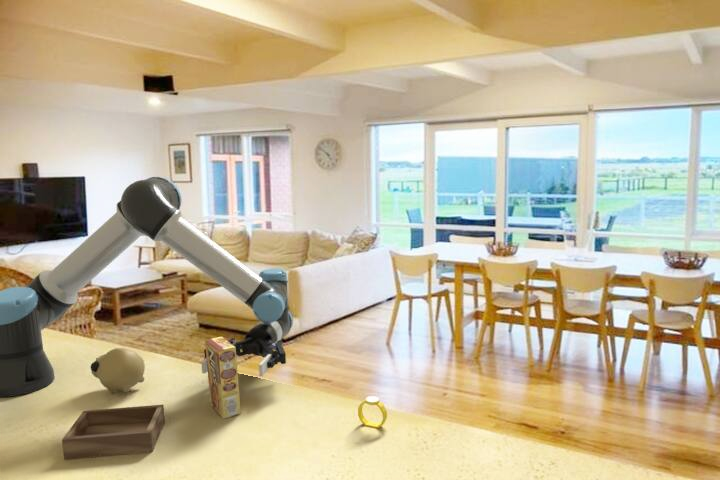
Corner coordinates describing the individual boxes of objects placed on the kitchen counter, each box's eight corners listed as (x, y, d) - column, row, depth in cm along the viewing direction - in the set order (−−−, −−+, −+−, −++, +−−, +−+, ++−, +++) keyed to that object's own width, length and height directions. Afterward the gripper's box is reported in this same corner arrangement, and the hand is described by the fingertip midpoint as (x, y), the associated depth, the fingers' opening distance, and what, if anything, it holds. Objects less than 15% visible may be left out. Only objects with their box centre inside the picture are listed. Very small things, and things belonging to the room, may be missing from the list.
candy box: (241, 414, 126) (237, 346, 123) (222, 419, 123) (218, 350, 121) (226, 399, 133) (222, 335, 130) (208, 404, 131) (204, 339, 128)
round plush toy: (115, 379, 146) (111, 338, 144) (154, 384, 142) (151, 343, 140) (85, 395, 137) (80, 352, 135) (126, 401, 133) (122, 357, 131)
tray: (85, 428, 121) (83, 410, 120) (164, 422, 123) (163, 404, 122) (64, 459, 109) (61, 439, 108) (152, 451, 111) (150, 432, 110)
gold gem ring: (387, 426, 119) (389, 399, 118) (382, 432, 117) (383, 405, 116) (361, 419, 122) (362, 392, 121) (355, 425, 119) (356, 398, 118)
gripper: (310, 353, 149) (285, 387, 129) (219, 349, 154) (181, 382, 133) (309, 325, 148) (284, 355, 127) (217, 322, 152) (178, 350, 132)
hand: (231, 369), depth 130 cm, fingers open, 13 cm apart
